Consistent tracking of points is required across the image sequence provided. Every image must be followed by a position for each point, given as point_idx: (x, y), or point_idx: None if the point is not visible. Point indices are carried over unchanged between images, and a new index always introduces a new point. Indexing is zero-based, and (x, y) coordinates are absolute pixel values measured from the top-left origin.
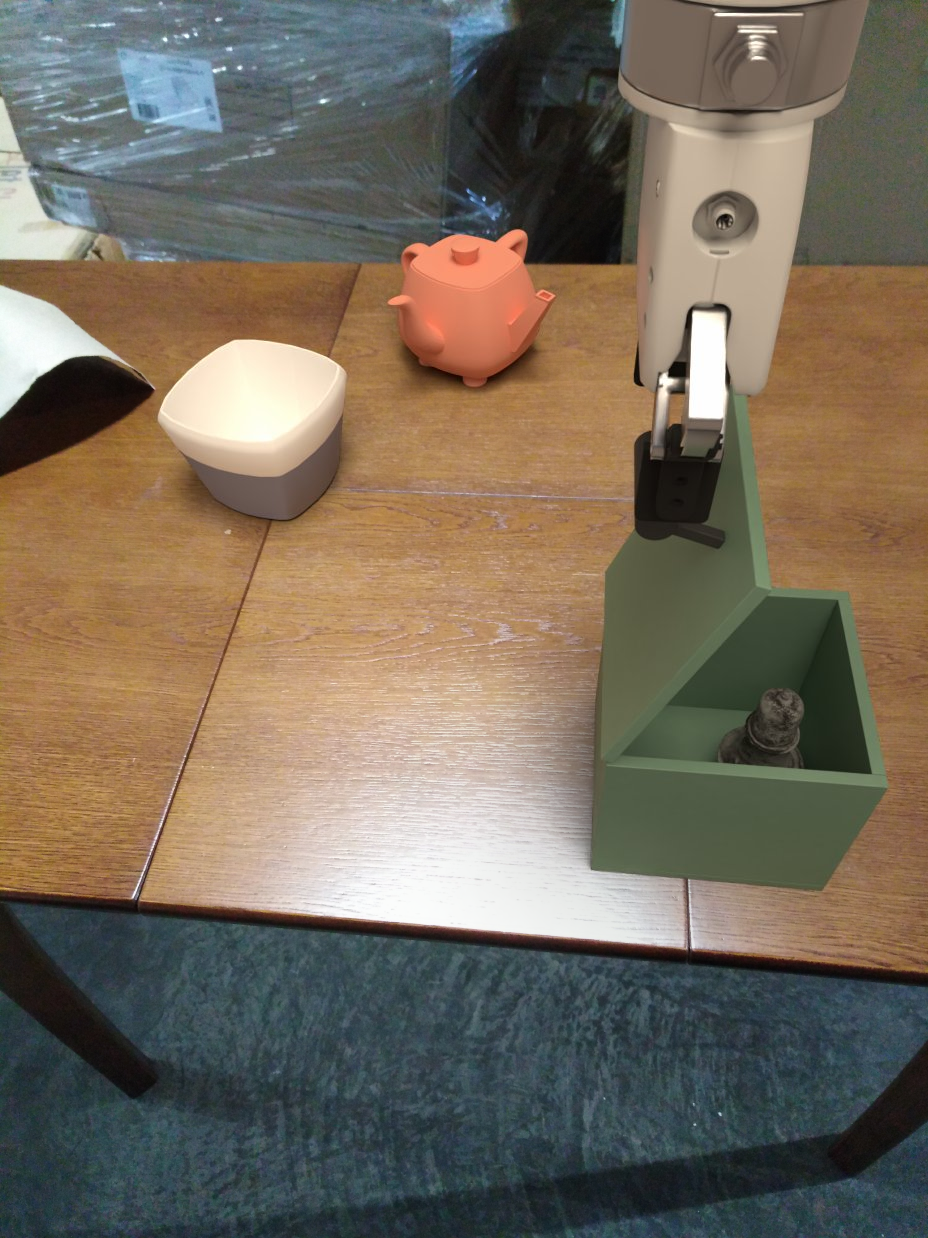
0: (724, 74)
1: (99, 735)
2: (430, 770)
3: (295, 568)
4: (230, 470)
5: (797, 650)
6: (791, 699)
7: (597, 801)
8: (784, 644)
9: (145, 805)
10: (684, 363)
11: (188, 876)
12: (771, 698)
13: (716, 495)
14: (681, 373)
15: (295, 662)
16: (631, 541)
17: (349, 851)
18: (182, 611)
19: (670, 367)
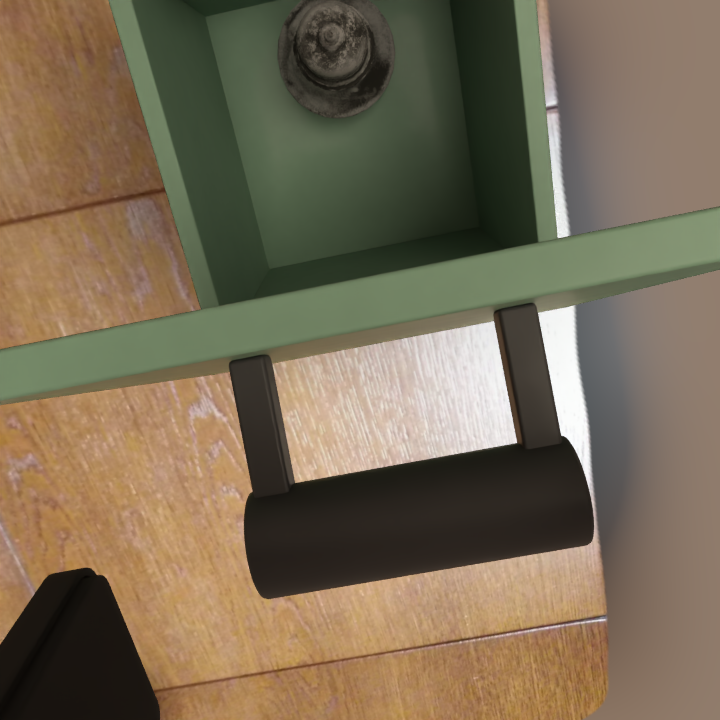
0: None
1: (458, 713)
2: (414, 429)
3: (200, 645)
4: None
5: (173, 21)
6: (330, 25)
7: None
8: (177, 46)
9: (518, 649)
10: (79, 685)
11: (577, 588)
12: (333, 59)
13: (338, 340)
14: (96, 652)
15: (323, 598)
16: (206, 374)
17: None
18: (298, 715)
19: (102, 703)
